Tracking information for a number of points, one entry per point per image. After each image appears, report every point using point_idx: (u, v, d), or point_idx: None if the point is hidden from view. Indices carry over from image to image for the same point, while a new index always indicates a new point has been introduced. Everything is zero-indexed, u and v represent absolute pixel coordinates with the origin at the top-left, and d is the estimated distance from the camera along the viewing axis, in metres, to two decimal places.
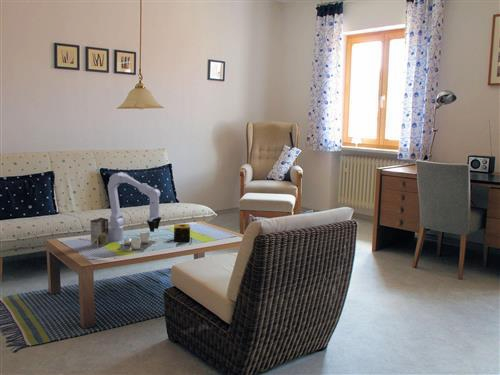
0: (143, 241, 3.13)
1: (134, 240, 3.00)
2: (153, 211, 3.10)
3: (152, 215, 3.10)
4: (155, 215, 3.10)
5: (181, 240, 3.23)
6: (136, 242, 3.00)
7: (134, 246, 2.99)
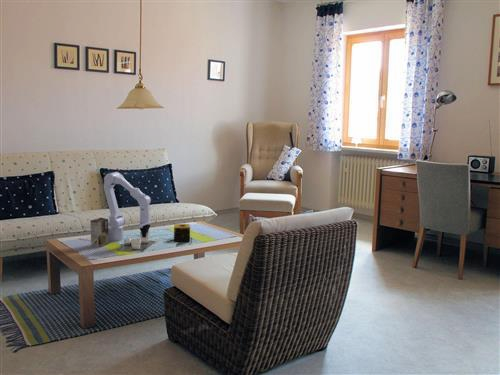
0: (143, 241, 3.13)
1: (134, 240, 3.00)
2: (143, 217, 3.10)
3: (142, 222, 3.10)
4: (145, 222, 3.10)
5: (181, 240, 3.23)
6: (136, 242, 3.00)
7: (134, 246, 2.99)
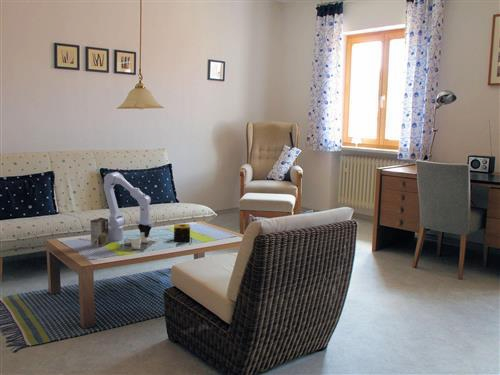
0: (146, 241, 3.13)
1: (134, 240, 3.00)
2: (148, 217, 3.12)
3: (147, 221, 3.11)
4: (149, 221, 3.13)
5: (181, 240, 3.23)
6: (136, 242, 3.00)
7: (134, 246, 2.99)
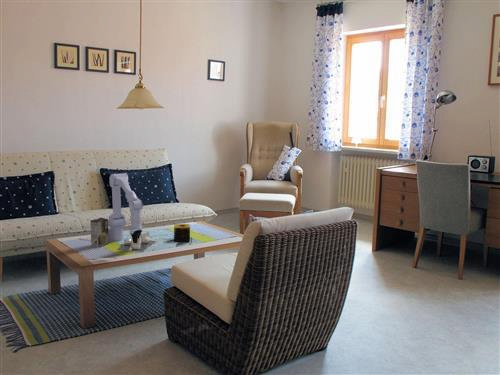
0: (147, 241, 3.13)
1: None
2: (135, 223, 2.96)
3: (133, 227, 2.97)
4: (136, 227, 2.97)
5: (181, 240, 3.23)
6: None
7: (134, 246, 2.99)
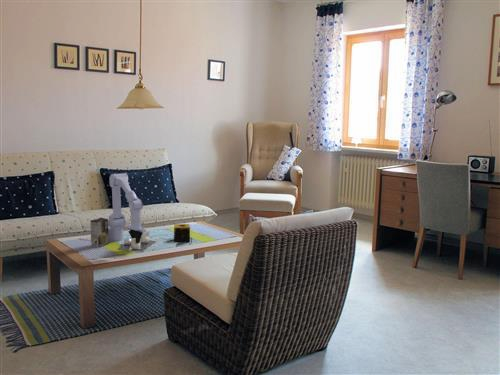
0: (147, 241, 3.14)
1: (135, 240, 3.00)
2: (139, 222, 2.98)
3: (138, 227, 2.98)
4: (140, 226, 2.99)
5: (181, 240, 3.23)
6: None
7: (137, 246, 2.99)
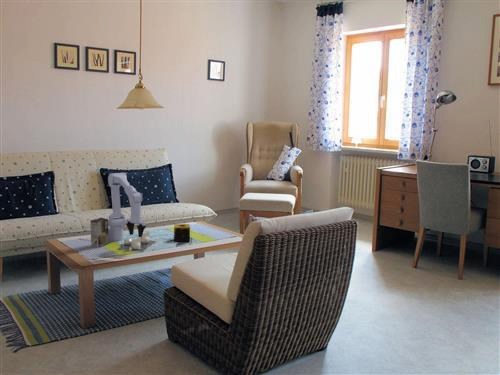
0: (147, 241, 3.14)
1: (135, 240, 3.00)
2: (139, 215, 2.97)
3: (138, 220, 2.97)
4: (140, 219, 2.99)
5: (181, 240, 3.23)
6: (137, 242, 3.01)
7: (138, 246, 3.00)
